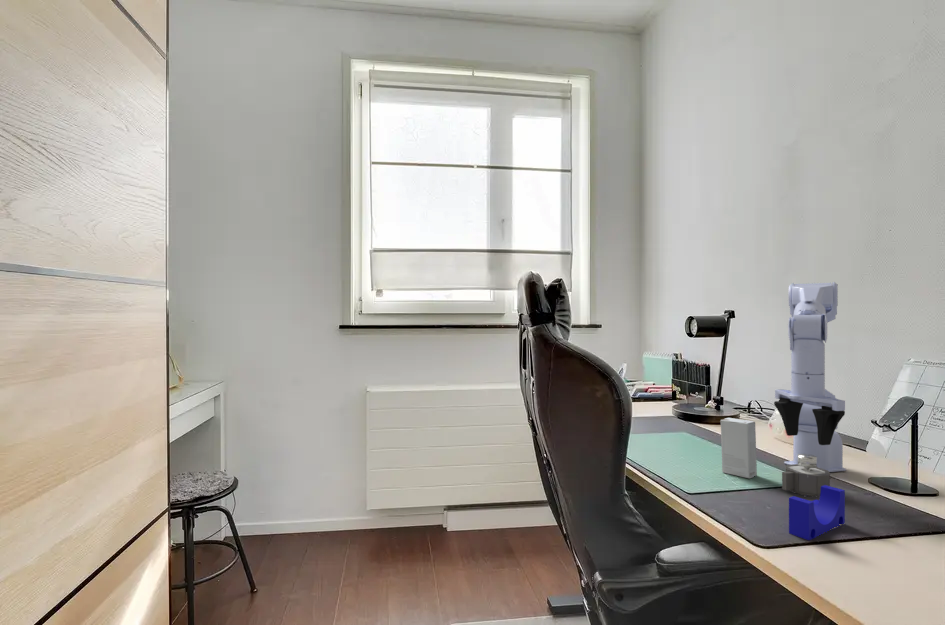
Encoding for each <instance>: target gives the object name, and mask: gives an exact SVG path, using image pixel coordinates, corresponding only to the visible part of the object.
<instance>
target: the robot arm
mask: <svg viewBox="0 0 945 625" xmlns="http://www.w3.org/2000/svg"><path fill="white" fill-rule="evenodd" d="M838 288H839V286H838V284H837V283H836V282H835V281H832V282H817V283H815V282H811V283H809V282H808V283H794V282H793V283H792V282H791V283H790V284H789V285H788V294H787V295H788V306H789V314H790V316H789V317H788V324H787V328H788V333H787V335H788V340H789V349H790V352H791V354H790V360H791V361H790V363H791V364H790V366H791V367H790V368H791V371H790V376H791V378H790V381H791V382H790V389H788V390H787V389H781V388H780V389H774V396H775V397H774V399H776V401H774V402H773V404H774V406H775V408H776V410H777V411H778V413H779V415H780V417H781V420H782V423H783V427H784V430H785V433H786V436H791V437H792V436H793V439H792V440H793V441H792V442H793V447H792V448H793V450H792V452H793V460H787V461H783V464H785V465H792V464H798V454H810V455H814V456H816V457H817V467H819V468H822V469H825V470H828V471H829V473H835V472H846V471H847V468H846V467H843V465H844V464H843V461H844V460H843V457H844V456H843V452H844V451H843V440H842V437H841V435H839V433H838V432H837V431H836V430H837V429H838V425H839V423H840V422H841V420H842V419H843V418H844V416H845V414H846V400H843V399H839V398H836V395H835V394H833V393H832V392H830V391H829V390H827V389H826V388H825V387H826V383H825V382H826V380H825V379H826V374H825V373H826V371H825V370H826V367H825V366H826V365H825V363H826V361H825V360H826V358H825V357H826V356H825V355H826V354H825V353H826V352H825V351H826V349H825V348H826V347H825V346H826V345H825V343H827V341H828V323H830V322H832V321H834V320H836V318H837V317H836V316H837V314H838V303H839V302H838V298H839V296H838V292H839V291H838V290H839V289H838ZM824 342H825V343H824ZM777 400H778V401H777Z"/></svg>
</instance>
